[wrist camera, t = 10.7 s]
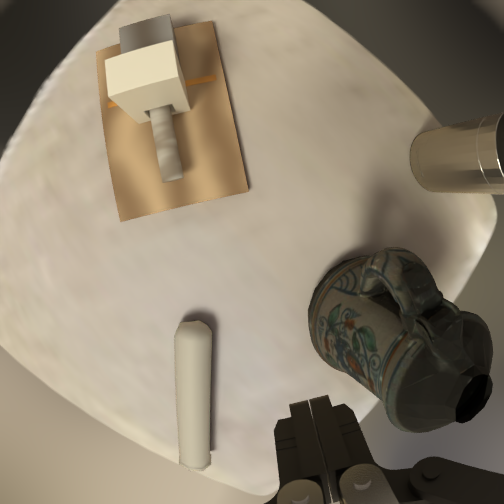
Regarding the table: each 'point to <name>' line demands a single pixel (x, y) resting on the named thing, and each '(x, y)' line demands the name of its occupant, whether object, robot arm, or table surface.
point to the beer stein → (402, 340)
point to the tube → (193, 393)
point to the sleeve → (147, 81)
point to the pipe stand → (173, 128)
